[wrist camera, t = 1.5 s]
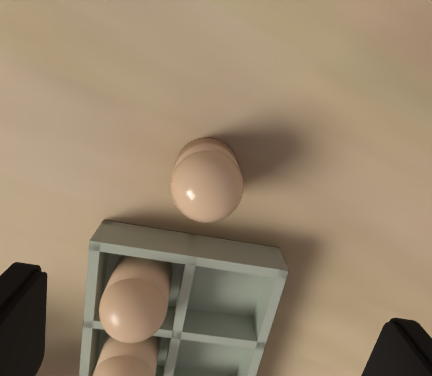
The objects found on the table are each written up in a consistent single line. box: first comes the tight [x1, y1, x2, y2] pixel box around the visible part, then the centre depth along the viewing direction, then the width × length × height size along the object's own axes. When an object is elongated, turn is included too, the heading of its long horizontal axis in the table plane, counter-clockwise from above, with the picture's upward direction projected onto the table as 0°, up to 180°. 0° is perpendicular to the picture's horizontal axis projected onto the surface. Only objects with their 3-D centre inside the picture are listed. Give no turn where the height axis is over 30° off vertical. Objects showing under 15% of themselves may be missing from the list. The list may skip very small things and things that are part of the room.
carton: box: [79, 220, 289, 376], centre depth 25 cm, size 20×14×7 cm
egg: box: [170, 138, 243, 223], centre depth 21 cm, size 4×4×6 cm
